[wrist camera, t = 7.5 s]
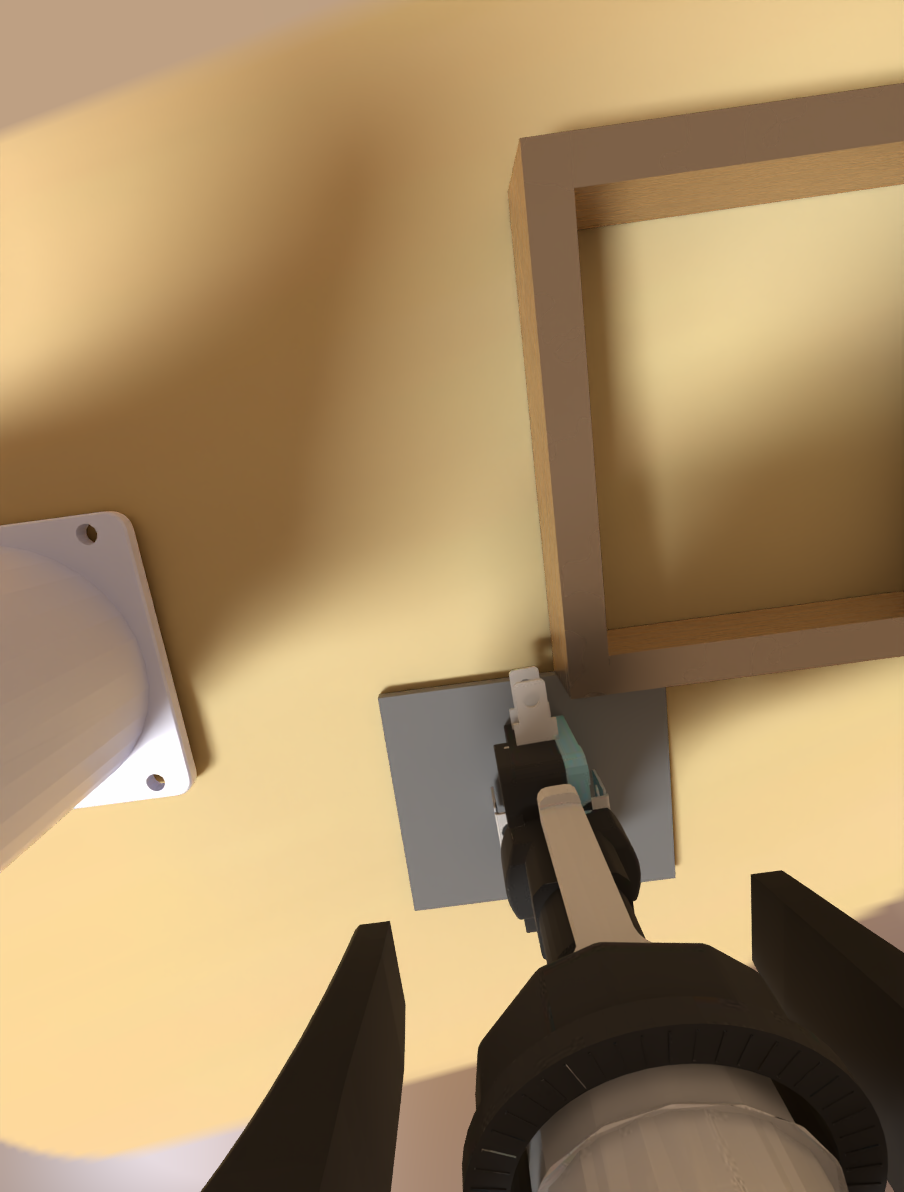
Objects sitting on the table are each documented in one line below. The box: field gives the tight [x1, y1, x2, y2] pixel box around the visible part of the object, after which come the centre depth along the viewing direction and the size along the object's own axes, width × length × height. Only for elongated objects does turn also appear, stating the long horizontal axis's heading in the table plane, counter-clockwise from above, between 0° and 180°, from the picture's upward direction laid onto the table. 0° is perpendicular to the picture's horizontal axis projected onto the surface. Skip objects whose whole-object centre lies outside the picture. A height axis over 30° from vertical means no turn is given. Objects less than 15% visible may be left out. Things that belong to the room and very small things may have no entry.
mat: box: [378, 671, 675, 911], centre depth 16 cm, size 8×7×1 cm
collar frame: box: [508, 83, 904, 699], centre depth 13 cm, size 11×12×2 cm
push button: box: [462, 666, 888, 1192], centre depth 10 cm, size 7×5×10 cm
